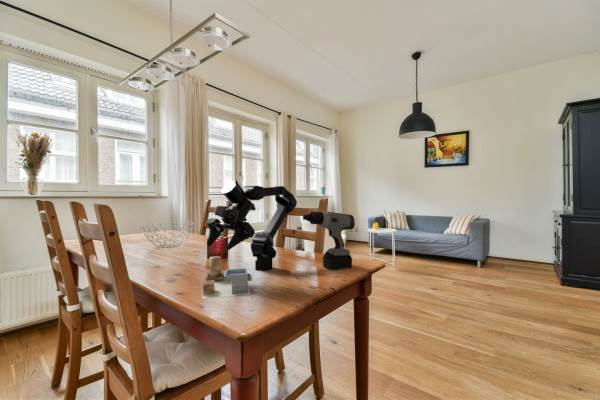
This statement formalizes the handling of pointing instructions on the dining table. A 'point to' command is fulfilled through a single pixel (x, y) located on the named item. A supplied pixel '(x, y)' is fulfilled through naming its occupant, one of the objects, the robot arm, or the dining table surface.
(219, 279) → the dowel socket
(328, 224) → the cordless drill
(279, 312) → the dining table surface
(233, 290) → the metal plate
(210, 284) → the bench dog
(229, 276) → the parts tray
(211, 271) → the oak dowel
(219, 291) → the bench board
